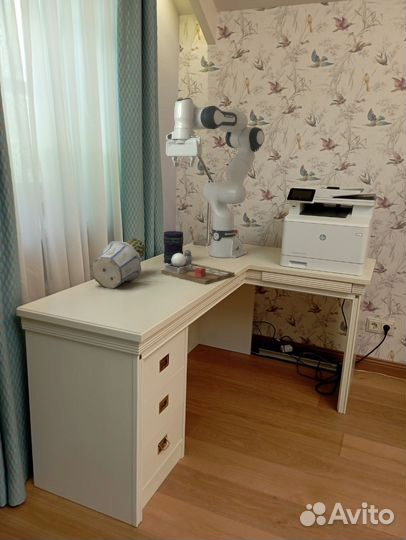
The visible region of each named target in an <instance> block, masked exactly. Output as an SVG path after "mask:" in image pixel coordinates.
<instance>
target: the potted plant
mask: <svg viewBox="0 0 406 540" xmlns="http://www.w3.org/2000/svg"><path fill="white" fill-rule="evenodd" d="M145 252H146V244H145V243H144V242H143V240H141V239H138V238H136V237H134V238H132V237H131V239H127V241H126V242H125V241H111V242H109V243H108V244H107V245H106V247H104V248H103V249H102V254H101V255H99V256H98V257H97V258H96V259H95V260H94V261H93V263H92V264H91V265H90V267H91V273H92V275H91V276H92V278H93V279H94V281H96V282H97V283H98V285H100V286H102V287H103V288H105V287H106V289H115V288H117V287H118V286H120V285H121V284H122V283H124V282H133V281H135V279H136V278H137V277H138V276H139V275H140V274H141V272H142V265H141V264H142V261H141V258H142V257H143V256H144V255H145Z"/></svg>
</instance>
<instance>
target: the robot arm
mask: <svg viewBox="0 0 406 540" xmlns="http://www.w3.org/2000/svg"><path fill="white" fill-rule="evenodd" d="M173 109H174V112H173V119H174V127H173V131H171V132H170V133H168V134H166V135H165V140H166V142H165V155H166V156H167V157H169V158H171V161H172V162H173V167H174V168H175V167H176V168H177V167H179V165H180V164H179V163H180V162H178V157H179V158H181V157H185V158H186V157H187V158H189V160H190V162H188V165H187V166H188V168H194V163H195V161H196V157H198V158H200V157H202V155H203V148H202V138H201V137H200V136H199V134H196V135H195V134H194V130H199V131H200V130H217V129H218V130H220V131H221V132H224V133H225V132H226V133H225V143H226V145H227V146H228V148H231V149H237V152H236V154H235V155H234V157H233V158H232V159H231V161H230V162H229V165H228V166H227V168H226V169H225V177H226V179H227V180H226V181H212V182H208V183H206V184H205V185H204V187H203V189H202V196H203V198H204V199H205V200H206V202H207V203H208V204H209V207H210V208H211V209H210V210H211V212H212V213H211V214H212V230H211V236H212V237H211V240H210V248H209V251H208V253H209V256H211V257H215V258H223V259H225V258H231V259H232V258H233V259H235V258H236V259H237V258H238V257H241V256H244V255H247V254H248V251H246V250H244V245H243V242H242V241H241V240H240V239H239V238H238V237H237V236H236V234H239V230H238V229H234V223H235V215H234V214H233V212H232V211H231V210H230V209H229V208H228V204H229V205H238V204H241V203H243V202H245V200H246V198H247V193H248V191H247V188H246V186H245V185H244V182H245V179H246V177H247V176H248V174H249V172H250V171H251V168H252V167H253V165H254V162H255V159H256V154H255V153H256V152H258V151H259V149H260V148H261V147H262V145H263V144H264V143H265V142H264V141H265V132H264V131H263V129H262V128H261V127H259V126H258V127H257V126H253V127H252V126H248V122H249V120H248V115H246V114H245V113H244V112H242V111H239V110H238V109H229V108H228V109H222V110H221V109H220V108H219V107H218V106H216V105H208V106H202V107H201V106H200V107H199V106H197V105H196V104H195V103H194V101H193V98H191V97H185V98H178V99H176V101H175V103H174V108H173Z"/></svg>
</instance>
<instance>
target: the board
mask: <svg viewBox="0 0 406 540" xmlns="http://www.w3.org/2000/svg"><path fill="white" fill-rule="evenodd" d="M160 273H162V275H165V274H166V275H165V276H169V275H170V277H173V278H177V279H182V280H185V281H189V282H193V283H196V284H201V285H208V284H209V285H210V284H212V283H216V282H218V281H222V280H225V279H230V278H232V277H235V272H233V271H230V270H229V271H228V270H225V269H220V268H215V267H210V266H205V265H200V264H198V263H192V265H189V264H185V265H184V266H182V267H180V268H178V267H175V266H174V265H173V264H164V269H161V271H160Z"/></svg>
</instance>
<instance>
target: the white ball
mask: <svg viewBox="0 0 406 540" xmlns="http://www.w3.org/2000/svg"><path fill="white" fill-rule="evenodd" d="M184 255H185V254H184V253H183V254H181V253H176V254H174V255H173V257H172V259H171V261H172V264H173V265H174V266H175V267H178V268H180V267H182V266H184V265H185V263H186V258H185V256H184Z"/></svg>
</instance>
